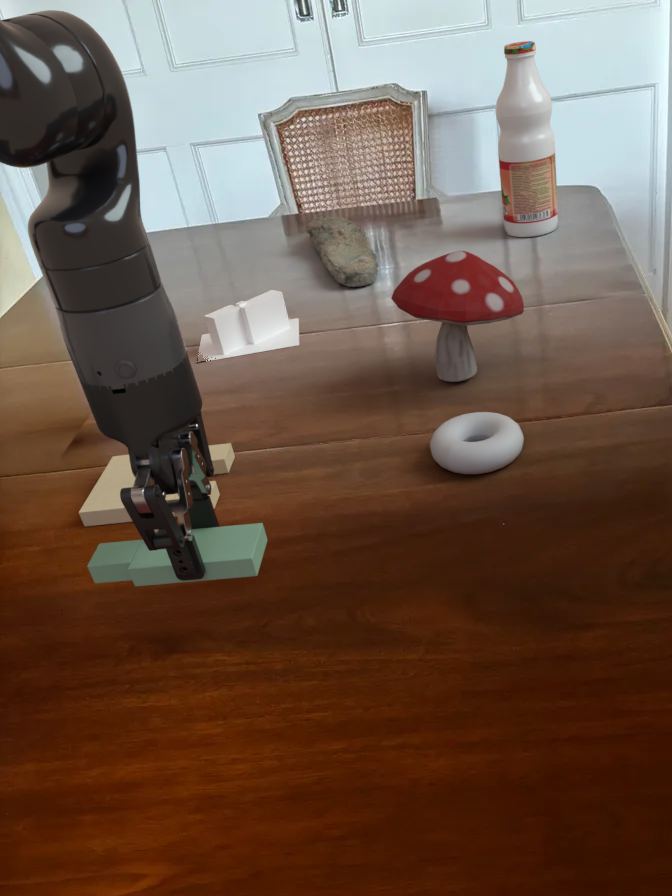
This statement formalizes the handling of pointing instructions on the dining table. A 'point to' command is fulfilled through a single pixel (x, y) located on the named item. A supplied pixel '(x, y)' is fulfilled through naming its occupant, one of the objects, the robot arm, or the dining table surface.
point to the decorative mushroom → (458, 305)
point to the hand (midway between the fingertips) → (200, 555)
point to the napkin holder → (249, 328)
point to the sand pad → (118, 475)
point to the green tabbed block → (132, 560)
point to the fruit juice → (526, 147)
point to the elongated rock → (344, 250)
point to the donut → (476, 443)
